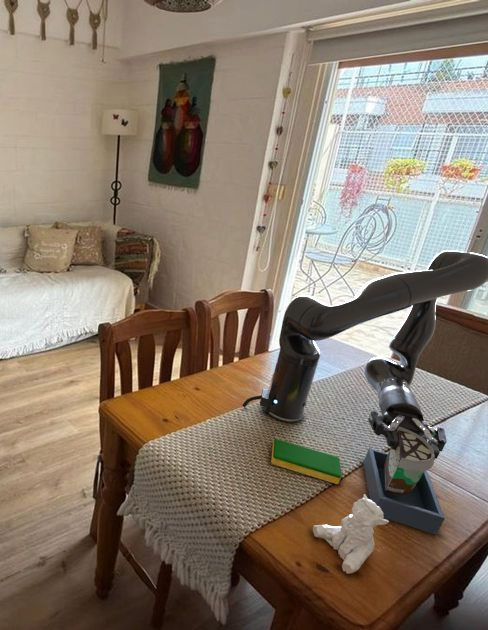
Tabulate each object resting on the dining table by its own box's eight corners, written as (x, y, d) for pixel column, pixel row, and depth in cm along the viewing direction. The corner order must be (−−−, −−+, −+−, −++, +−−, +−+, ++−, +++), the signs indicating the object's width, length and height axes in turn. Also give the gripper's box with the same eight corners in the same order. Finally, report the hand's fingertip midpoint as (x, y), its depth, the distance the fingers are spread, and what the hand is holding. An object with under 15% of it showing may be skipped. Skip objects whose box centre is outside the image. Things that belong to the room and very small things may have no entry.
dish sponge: (272, 445, 108) (274, 437, 107) (336, 464, 102) (339, 456, 101) (271, 464, 102) (273, 456, 101) (338, 485, 96) (341, 476, 96)
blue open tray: (372, 514, 90) (380, 498, 88) (362, 462, 103) (368, 447, 101) (436, 534, 85) (445, 518, 84) (417, 478, 99) (424, 463, 97)
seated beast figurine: (308, 531, 85) (325, 484, 80) (345, 523, 87) (364, 478, 82) (347, 576, 77) (368, 528, 72) (386, 567, 79) (410, 519, 74)
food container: (422, 510, 87) (441, 472, 83) (385, 496, 90) (401, 459, 86) (417, 471, 96) (434, 435, 92) (384, 460, 99) (398, 425, 95)
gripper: (368, 386, 106) (379, 426, 92) (442, 402, 100) (465, 448, 86) (359, 411, 109) (368, 454, 95) (430, 429, 103) (450, 477, 89)
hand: (414, 451), depth 91 cm, fingers closed on food container, 6 cm apart
